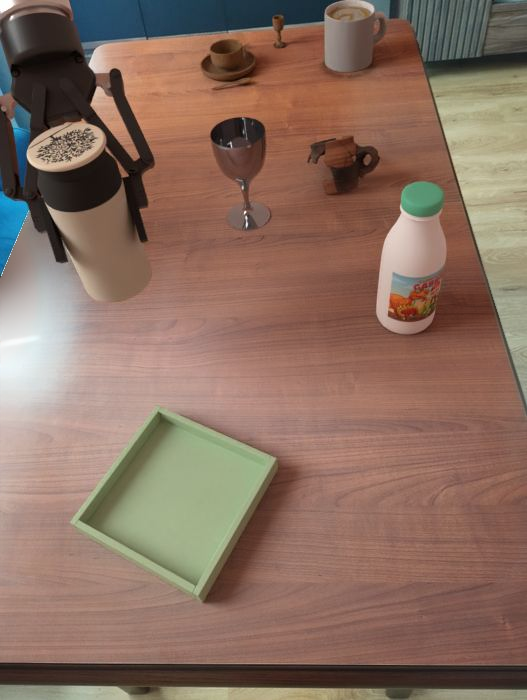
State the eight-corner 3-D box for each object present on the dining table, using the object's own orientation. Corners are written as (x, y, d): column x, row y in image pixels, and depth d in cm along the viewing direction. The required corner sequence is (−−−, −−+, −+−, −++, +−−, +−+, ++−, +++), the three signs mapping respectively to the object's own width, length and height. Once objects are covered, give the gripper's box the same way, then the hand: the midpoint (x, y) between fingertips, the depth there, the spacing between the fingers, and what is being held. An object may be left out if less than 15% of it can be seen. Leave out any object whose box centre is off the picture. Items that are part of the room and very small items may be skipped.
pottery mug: (307, 199, 97) (298, 147, 94) (321, 189, 105) (313, 141, 102) (379, 187, 92) (372, 132, 89) (388, 177, 100) (381, 127, 97)
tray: (77, 531, 64) (69, 522, 62) (161, 415, 72) (156, 404, 70) (202, 603, 58) (198, 596, 56) (278, 468, 67) (277, 458, 65)
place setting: (197, 55, 131) (192, 28, 127) (284, 40, 132) (282, 12, 128) (206, 93, 120) (201, 64, 116) (301, 76, 121) (300, 47, 117)
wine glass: (214, 216, 96) (199, 133, 84) (251, 194, 98) (241, 110, 87) (244, 239, 91) (233, 155, 80) (283, 215, 94) (276, 130, 82)
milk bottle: (365, 322, 79) (374, 202, 63) (391, 286, 83) (406, 164, 67) (418, 344, 76) (442, 223, 60) (443, 306, 79) (471, 182, 64)
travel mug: (165, 280, 68) (123, 142, 54) (107, 315, 65) (46, 180, 51) (130, 247, 72) (82, 111, 58) (73, 279, 70) (9, 145, 55)
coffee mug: (330, 75, 121) (331, 24, 113) (319, 54, 127) (319, 4, 119) (393, 65, 121) (398, 13, 113) (380, 44, 127) (383, -7, 119)
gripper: (141, 23, 63) (199, 230, 66) (-54, 65, 61) (14, 278, 64) (136, -13, 56) (201, 222, 58) (-87, 33, 53) (-8, 275, 56)
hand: (103, 251), depth 61 cm, fingers closed on travel mug, 8 cm apart
